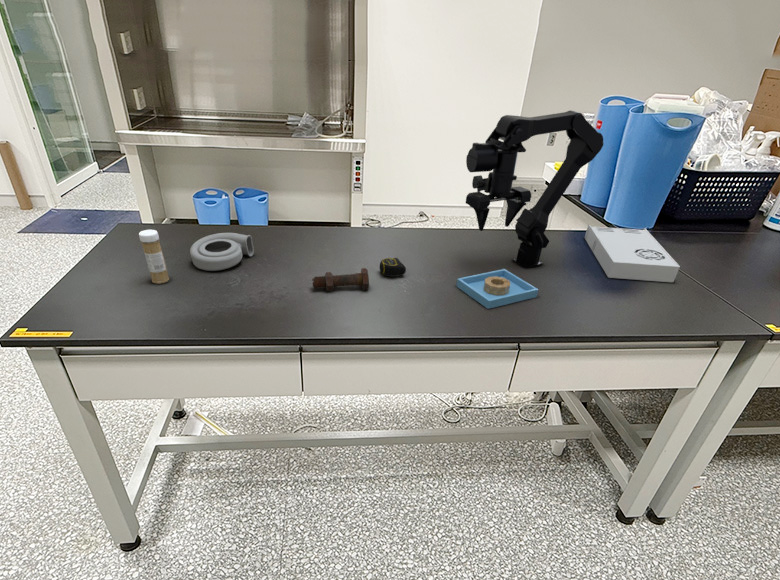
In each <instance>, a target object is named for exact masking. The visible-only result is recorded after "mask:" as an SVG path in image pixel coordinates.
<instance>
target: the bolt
mask: <svg viewBox="0 0 780 580" xmlns="http://www.w3.org/2000/svg"><path fill="white" fill-rule="evenodd" d="M369 277H370V276H369V270H368V269H367V268H366V267H361V269H360V272H356V273H350V274H349V273H347V274H346V273H345V274H334V275H333V273H332V272H331V271H327V272H325V273H324V275H321V276H320V275H317V276H314V277H312V279H311V281H312V288H314V289H325V290H326V291H327V292H332V291H334V288H339V287H354V286H356V287H361V288H362V291H367V290H368V289H369V288H370V278H369Z"/></svg>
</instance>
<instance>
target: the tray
mask: <svg viewBox="0 0 780 580" xmlns="http://www.w3.org/2000/svg"><path fill="white" fill-rule="evenodd" d="M495 276H497V277H502V278H505V279H507V280H509V281H510V289H509V293H507V294H505V295H492V294H488V293H487V292H485V291H484V282H485V279H486V278H488V277H495ZM455 287H456V288H458V289H460V290H461V291H462V292H464V294H466V295H468V296H469V297H470V298H472V299H473V300H474V301H476V302H477V303H479V304H480V305H482V306H483V307H485V308H486V309H488V310H489V309H493V308H497V307H502V306H505V305H509V304H513V303H519V302H522V301H527V300H530V299H534V298H537V297H538V293H539V288H537V287H536V286H533V285H532V284H531V283H529V282H527V281H526V280H525V279H523V278H520V277H519V276H518V275H516V274H514V273H512V272H510V271H509V270H507V269H506V268H502V269H497V270H493V271H488V272H483V273H482V272H481V273H478V274H474V275H468V276H464V277H459V278H457V279H456V286H455Z"/></svg>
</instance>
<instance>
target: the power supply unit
mask: <svg viewBox="0 0 780 580" xmlns="http://www.w3.org/2000/svg"><path fill="white" fill-rule="evenodd" d="M584 239H585V241H586V243H587V245H588V246H589V248H590V250H591V252H592V254H593V255H594V257H595V258H596V260H597V262H598V264H599V265H600V266H601V268H602V270H603V271H604V273H605V275H606V276H607V278H609V279H622V280H636V281H648V282H661V283H674V282H675V279H676V278H677V274H678V273H679V270H680V268H681V266H680V265H679V263H678V262H676V260H675V259H674V258H673V257H672V256H671V255H670V254H669V253H668V251H667V250H666V249H665V248H664V247H663V246H662V245H661V244H660V242H659V241H657V239H656V238H655V237H654V236H653V235H652V234H651V233H650V232H649V230H647V228H646V227H644V228H642V229H633V228H621V227H620V228H619V227H605V226H591V224H587V227H586V231H585V235H584Z"/></svg>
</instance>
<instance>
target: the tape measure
mask: <svg viewBox="0 0 780 580" xmlns="http://www.w3.org/2000/svg"><path fill="white" fill-rule="evenodd" d="M406 270H407V268H406V265H404V264H403V263H402V261H401V260H400V259H399V258H398V257H386V258H383V259H382V260H380V263H379V271H380V273H381V274H382V275H383V276H387V277H398V276H403V275H404V274H406V272H407V271H406Z"/></svg>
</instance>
